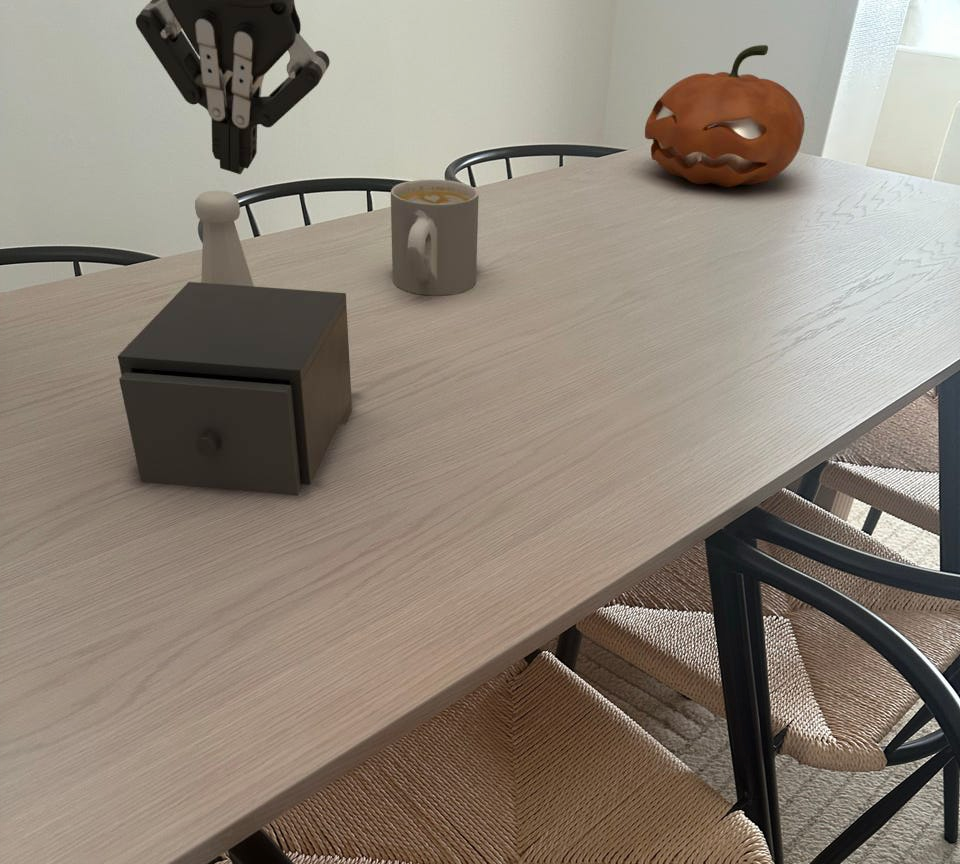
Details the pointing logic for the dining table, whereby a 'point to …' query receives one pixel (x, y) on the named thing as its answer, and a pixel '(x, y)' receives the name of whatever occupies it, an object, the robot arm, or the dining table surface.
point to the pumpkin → (726, 127)
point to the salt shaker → (221, 240)
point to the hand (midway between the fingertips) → (234, 165)
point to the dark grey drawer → (213, 431)
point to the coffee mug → (434, 236)
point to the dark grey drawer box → (259, 350)
